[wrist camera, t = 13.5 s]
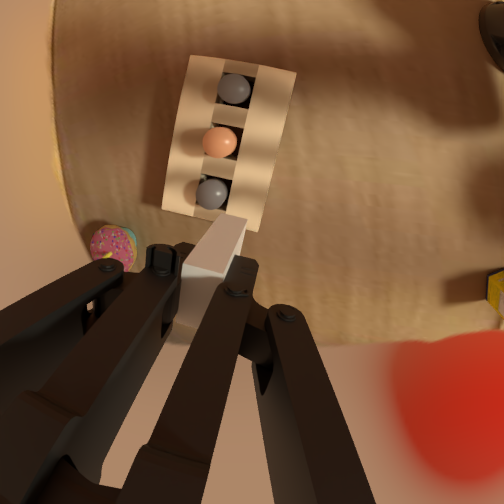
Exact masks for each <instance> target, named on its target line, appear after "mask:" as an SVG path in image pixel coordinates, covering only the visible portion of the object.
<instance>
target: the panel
mask: <svg viewBox="0 0 504 504" xmlns="http://www.w3.org/2000/svg"><path fill="white" fill-rule="evenodd" d="M228 74H239V75H241V76H243V77H244V78H245V79H246V80H247V81H252V82H255V84H254V88H253V93H252V97H251V101H250V105H249V109H245V108H240V107H234V106H229V105H223V102H224V100H223V99H221V97H220V96H219V94H218V91H217V87H218V83H219V81H220V80H221V79H222V78H223V77H224V76H226V75H228ZM296 74H297V73H295V72H291V71H287V70H282V69H278V68H273V67H268V66H263V65H258V64H253V63H247V62H241V61H235V60H228V59H221V58H214V57H206V56H196V55H190V59H189V63H188V67H187V71H186V76H185V80H184V84H183V89H182V93H181V98H180V102H179V107H178V112H177V117H176V122H175V127H174V133H173V138H172V144H171V149H170V155H169V161H168V167H167V174H166V180H165V187H164V194H163V201H162V209H163V210H168V211H172V212H176V213H181V214H185V215H189V216H193V217H197V218H202V219H206V220H210V221H215V220H216V219H217V218H218V216H219V215H220V214H221V213H224V214H228V215H232V216H237V217H241V218H245V219H248V221H247V225H246V229H247V230H251V231H255V232H258V229H259V226H260V222H261V218H262V214H263V210H264V206H265V202H266V198H267V194H268V190H269V185H270V181H271V177H272V173H273V169H274V165H275V161H276V157H277V153H278V149H279V145H280V141H281V137H282V132H283V128H284V124H285V120H286V116H287V112H288V108H289V104H290V100H291V96H292V92H293V87H294V83H295V79H296ZM219 124H224V125H229V126H234V127H239V128H244V131H243V135H242V140H241V144H240V149H239V153H238V157H237V156H233V155H228V156H226V157H223V158H213V157H211V156H209V155H208V154H207V153H206V152H205V150H204V148H203V137H204V135H205V134H206V132H207V131H209V130H210V129H212V128H215V127H218V125H219ZM208 175H212V176H216V177H221V178H225V179H230V180H233V181H232V186H231V190H230V195H229V200H228V202H227V201H224V202H223V204H222V205H221V206H220V207H219V208H217V209H214V210H207V209H204V208H203V207H201V206H200V205H199V204H198V202H197V200H196V190H197V188H198V186H199V185H200V184H202V183H203V182H204V181H206V180H207V179H208Z"/></svg>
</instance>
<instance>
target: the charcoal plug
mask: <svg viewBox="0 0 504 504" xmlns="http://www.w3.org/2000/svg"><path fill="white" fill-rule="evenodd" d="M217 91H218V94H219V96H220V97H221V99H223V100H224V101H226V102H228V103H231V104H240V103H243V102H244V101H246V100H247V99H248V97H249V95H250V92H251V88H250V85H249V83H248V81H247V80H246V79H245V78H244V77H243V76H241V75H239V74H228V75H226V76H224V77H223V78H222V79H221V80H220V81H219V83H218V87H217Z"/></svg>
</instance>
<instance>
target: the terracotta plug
mask: <svg viewBox="0 0 504 504" xmlns="http://www.w3.org/2000/svg"><path fill="white" fill-rule="evenodd" d="M236 146H237V138H236V135H235V133H234V132H233V131H232V130H231V129H229V128H226V127H215V128H212V129H210V130H209V131H207V132H206V134H205V135H204V137H203V148H204V150H205V152H206V153H207V154H208V155H209V156H211V157H213V158H223V157H226V156H228V155H230V154H231V153H232V152H233V151H234V150H235V148H236Z"/></svg>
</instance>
